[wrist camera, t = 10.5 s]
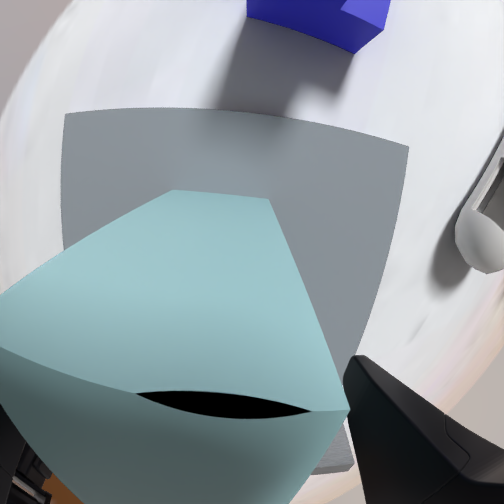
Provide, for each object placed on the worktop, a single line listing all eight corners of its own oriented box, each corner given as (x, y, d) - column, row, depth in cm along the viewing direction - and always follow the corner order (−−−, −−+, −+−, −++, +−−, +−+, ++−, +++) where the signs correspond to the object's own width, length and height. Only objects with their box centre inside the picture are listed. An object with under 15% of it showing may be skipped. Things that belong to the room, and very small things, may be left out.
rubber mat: (93, 374, 14) (90, 379, 13) (71, 114, 9) (65, 113, 9) (329, 402, 14) (331, 408, 14) (402, 146, 10) (408, 146, 9)
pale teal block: (172, 360, 13) (123, 534, 4) (172, 189, 10) (-38, 326, 1) (244, 369, 13) (242, 554, 4) (268, 198, 10) (350, 408, 2)
